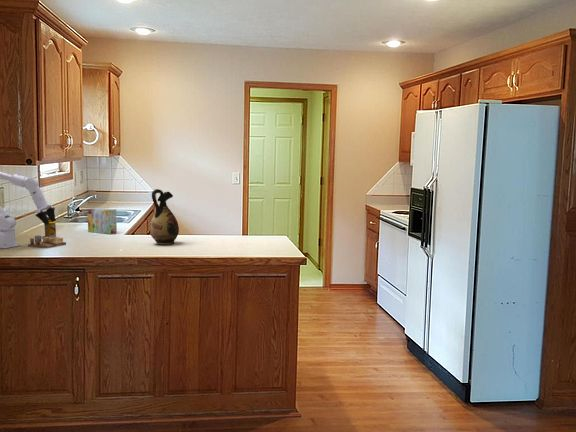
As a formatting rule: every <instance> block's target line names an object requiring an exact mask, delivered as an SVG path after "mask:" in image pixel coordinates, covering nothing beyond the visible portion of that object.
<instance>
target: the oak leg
mask: <svg viewBox="0 0 576 432" xmlns="http://www.w3.org/2000/svg"><path fill="white" fill-rule="evenodd" d="M44 242H48V243H53V244H57V243H63V242H64V237H59V236H56V237H55V238H53V237H44Z"/></svg>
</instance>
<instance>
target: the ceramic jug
mask: <svg viewBox="0 0 576 432" xmlns="http://www.w3.org/2000/svg"><path fill="white" fill-rule="evenodd" d="M156 194H159V196H158V198H157V197H156ZM173 197H174V195H173V194H172V193H171V192H170V191H163V190H162V189H158V188H155V189H154V190H152V192H151V200H152V202H153V204H154V205H153V206H154V207H155V212H154V214H153V216H152V218H151V221H150V225H149V233H150V236H151V238H152V239H153V240H154V241H155V243H156V245H164V246H165V245H167V246H168V245H174V244H175V241H176V239H177V237H178V235H179V232H180V228H179V223H178V221H177V220H178V219H177V218H176V217H175V214H174V213H173V212H172V211H171V209H170V208H169V207H168V205H167V201H168V200H170V199H172V198H173ZM158 202H159V204H158Z"/></svg>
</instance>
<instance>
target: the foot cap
mask: <svg viewBox="0 0 576 432" xmlns="http://www.w3.org/2000/svg"><path fill="white" fill-rule="evenodd" d="M41 237H42V235H34V243H36V239H40V242H43V239H42V238H41Z"/></svg>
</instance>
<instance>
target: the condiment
mask: <svg viewBox="0 0 576 432" xmlns="http://www.w3.org/2000/svg"><path fill="white" fill-rule="evenodd" d="M47 218H48V221H49V224H47V225H45V224H44V223H43V224H44V236H45V237H47V236H50V235H56V236H57V228H56V225H57V224H56V221H54V222H52V221H51V220H50V218H49V217H48V216H47ZM41 240H43V236H41Z"/></svg>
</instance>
